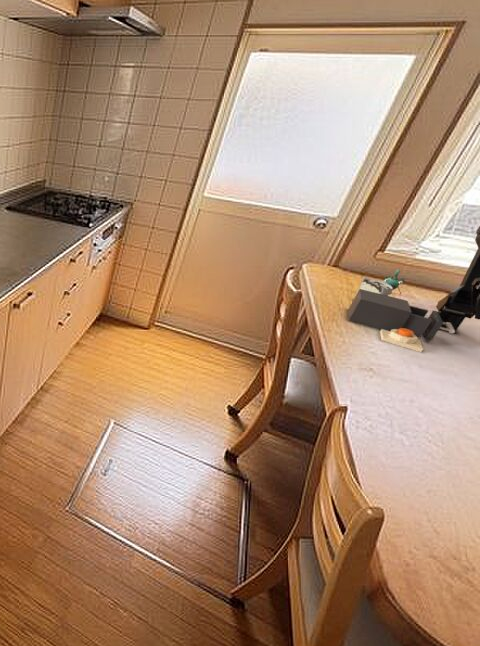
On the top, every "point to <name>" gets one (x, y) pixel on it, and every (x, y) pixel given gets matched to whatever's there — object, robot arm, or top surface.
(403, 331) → the button
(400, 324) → the charcoal rectangular box
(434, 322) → the fryer drawer
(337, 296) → the top surface
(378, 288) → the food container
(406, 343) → the block
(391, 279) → the frog figurine
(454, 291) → the robot arm
